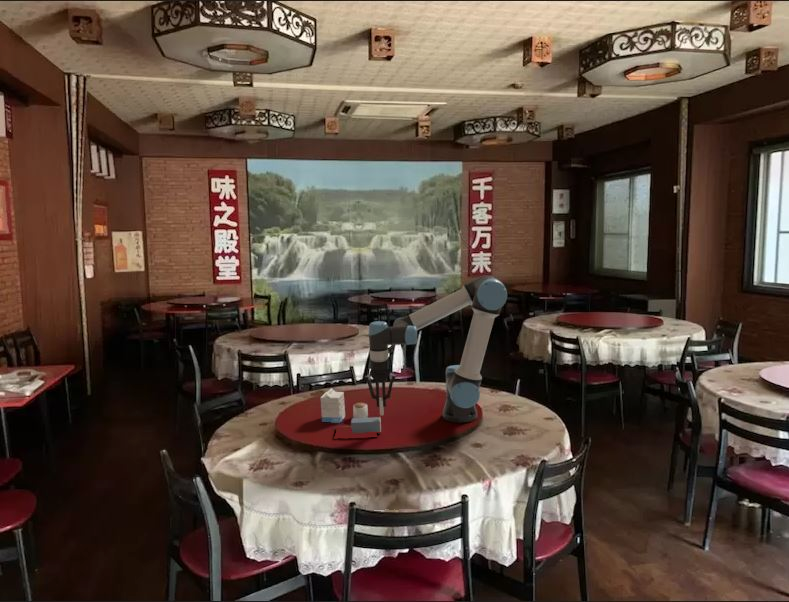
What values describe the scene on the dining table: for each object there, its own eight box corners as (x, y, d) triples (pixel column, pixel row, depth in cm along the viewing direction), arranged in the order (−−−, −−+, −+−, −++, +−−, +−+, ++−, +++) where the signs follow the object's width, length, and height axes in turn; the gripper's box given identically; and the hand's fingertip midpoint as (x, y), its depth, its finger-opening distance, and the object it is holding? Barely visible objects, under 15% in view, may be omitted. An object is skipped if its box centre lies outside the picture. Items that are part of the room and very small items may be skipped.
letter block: (380, 417, 248) (351, 418, 248) (380, 421, 244) (351, 422, 244) (380, 428, 249) (352, 429, 249) (380, 433, 244) (351, 434, 244)
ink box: (340, 423, 258) (338, 394, 255) (321, 422, 260) (319, 393, 257) (345, 416, 266) (343, 387, 264) (327, 415, 268) (326, 387, 265)
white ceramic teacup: (368, 414, 267) (367, 401, 266) (367, 420, 261) (367, 406, 260) (354, 415, 267) (353, 402, 266) (353, 420, 261) (352, 407, 260)
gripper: (395, 356, 245) (397, 410, 249) (363, 357, 245) (366, 411, 249) (395, 361, 238) (397, 416, 242) (363, 362, 238) (365, 418, 242)
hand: (381, 414), depth 246 cm, fingers closed
